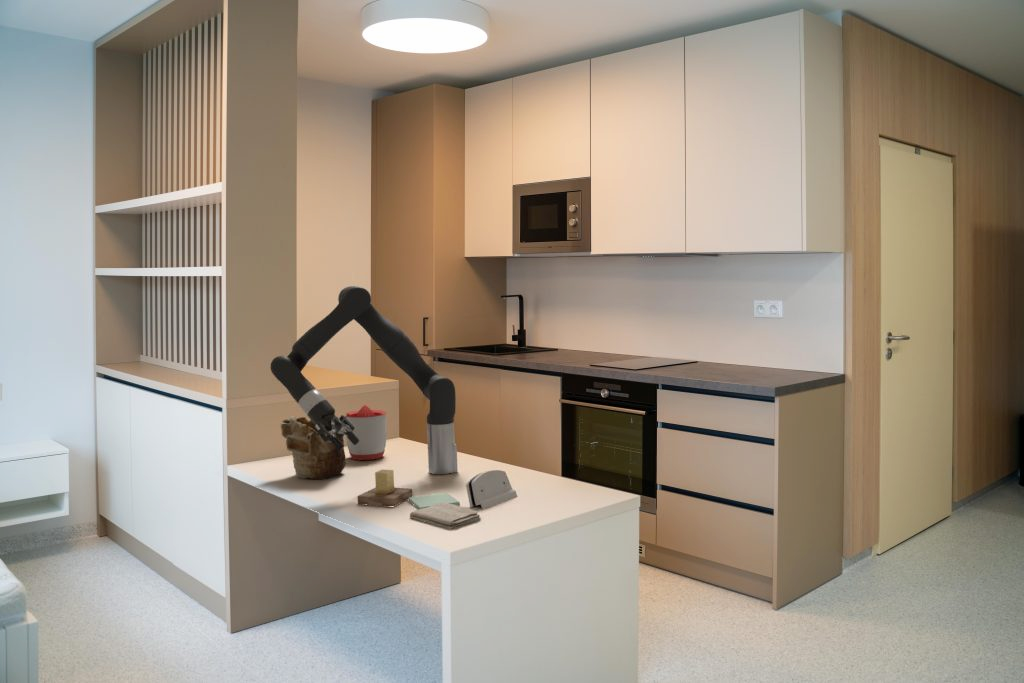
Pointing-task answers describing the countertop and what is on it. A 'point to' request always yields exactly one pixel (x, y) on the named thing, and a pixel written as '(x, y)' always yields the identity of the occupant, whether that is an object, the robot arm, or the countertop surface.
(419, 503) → the mat
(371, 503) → the socket base
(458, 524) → the washcloth
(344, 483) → the countertop surface
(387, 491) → the peg
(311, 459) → the ceramic vessel
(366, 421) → the citrus juicer
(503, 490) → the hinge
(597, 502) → the countertop surface
